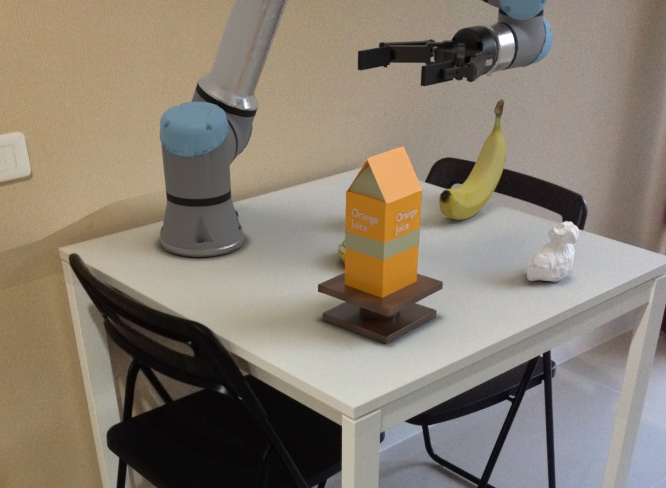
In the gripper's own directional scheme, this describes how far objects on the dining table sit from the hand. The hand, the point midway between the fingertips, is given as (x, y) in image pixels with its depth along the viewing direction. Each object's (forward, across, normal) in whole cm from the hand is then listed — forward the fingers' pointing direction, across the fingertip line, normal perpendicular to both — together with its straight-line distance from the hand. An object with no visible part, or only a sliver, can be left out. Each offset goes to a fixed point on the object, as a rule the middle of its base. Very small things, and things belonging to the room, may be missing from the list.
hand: (390, 68), depth 149 cm
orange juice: (+12, -11, -28) cm, 32 cm away
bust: (-23, -19, -34) cm, 45 cm away
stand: (+12, -11, -34) cm, 38 cm away
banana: (-37, +12, -34) cm, 52 cm away
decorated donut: (-3, +7, -34) cm, 35 cm away
